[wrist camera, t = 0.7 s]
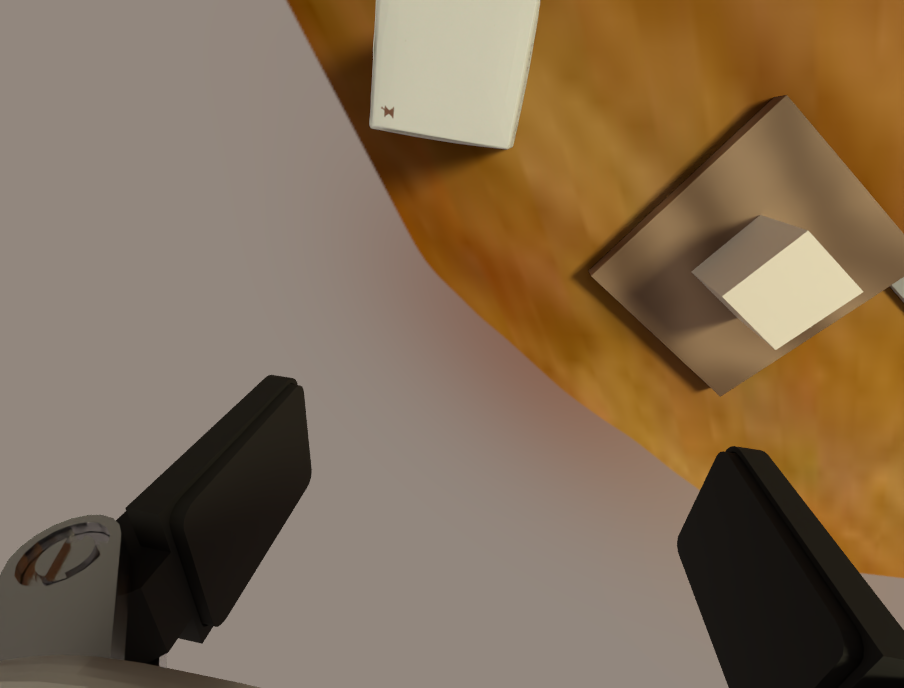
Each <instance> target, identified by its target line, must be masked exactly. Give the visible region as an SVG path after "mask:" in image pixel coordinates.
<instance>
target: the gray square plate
mask: <svg viewBox="0 0 904 688" xmlns="http://www.w3.org/2000/svg"><path fill="white" fill-rule="evenodd" d="M890 287H891V289H892V290H893V291H894V292H895V293H896V294H897V295H898V297H899V298H900V299H901V300H902V301H903V302H904V277H903V278H901V279H900V280H898V281H897V282H895V283H894V284H892V285H891V286H890Z"/></svg>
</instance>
